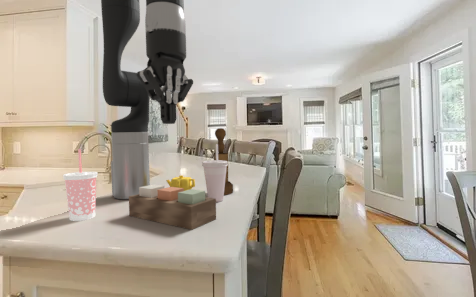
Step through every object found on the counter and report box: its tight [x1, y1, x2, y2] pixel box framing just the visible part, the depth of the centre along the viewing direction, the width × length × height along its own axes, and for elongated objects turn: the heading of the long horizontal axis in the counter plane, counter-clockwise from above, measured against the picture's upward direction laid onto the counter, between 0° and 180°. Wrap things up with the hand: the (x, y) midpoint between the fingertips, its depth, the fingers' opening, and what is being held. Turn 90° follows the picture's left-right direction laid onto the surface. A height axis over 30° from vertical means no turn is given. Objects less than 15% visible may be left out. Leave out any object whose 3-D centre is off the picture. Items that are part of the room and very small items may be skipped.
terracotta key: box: [157, 186, 184, 201], centre depth 57 cm, size 4×4×3 cm
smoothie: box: [201, 143, 229, 203], centre depth 71 cm, size 6×6×14 cm
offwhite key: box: [139, 184, 165, 198], centre depth 60 cm, size 4×4×3 cm
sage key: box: [178, 188, 206, 204], centre depth 54 cm, size 4×4×3 cm
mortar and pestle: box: [213, 127, 234, 196], centre depth 79 cm, size 7×6×18 cm
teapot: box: [166, 175, 196, 191], centre depth 79 cm, size 8×6×5 cm
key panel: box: [128, 194, 217, 230], centre depth 57 cm, size 17×7×4 cm, turn 58°
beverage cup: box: [62, 148, 99, 222], centre depth 58 cm, size 6×6×14 cm
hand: (168, 123), depth 56 cm, fingers closed
